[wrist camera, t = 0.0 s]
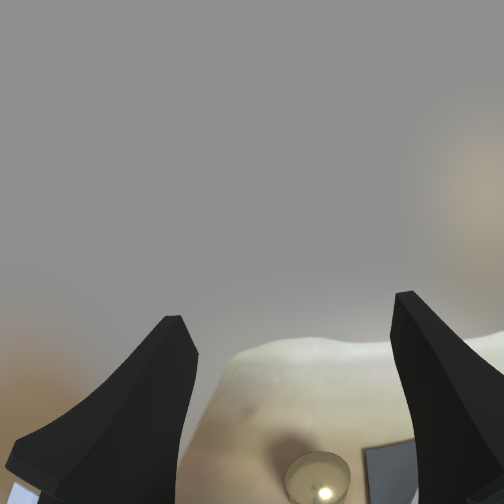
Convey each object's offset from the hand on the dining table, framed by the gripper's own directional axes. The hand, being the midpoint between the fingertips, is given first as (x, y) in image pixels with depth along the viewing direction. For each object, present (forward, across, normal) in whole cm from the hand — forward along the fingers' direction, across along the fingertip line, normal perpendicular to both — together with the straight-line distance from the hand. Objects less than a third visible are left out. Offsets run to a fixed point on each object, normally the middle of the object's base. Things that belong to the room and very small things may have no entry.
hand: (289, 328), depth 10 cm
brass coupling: (-1, 0, +22) cm, 22 cm away
